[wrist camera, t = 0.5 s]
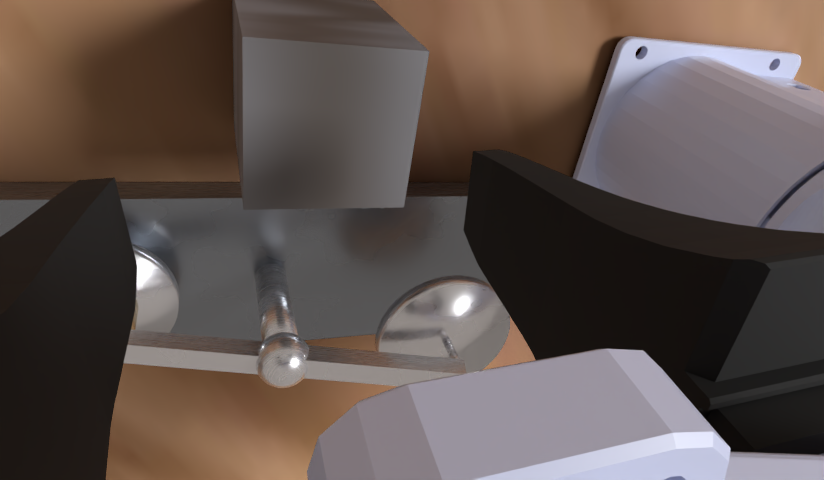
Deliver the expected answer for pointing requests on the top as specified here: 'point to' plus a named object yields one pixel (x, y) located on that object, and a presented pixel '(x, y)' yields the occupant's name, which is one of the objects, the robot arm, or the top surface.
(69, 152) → the top surface
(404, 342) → the balance
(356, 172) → the block
